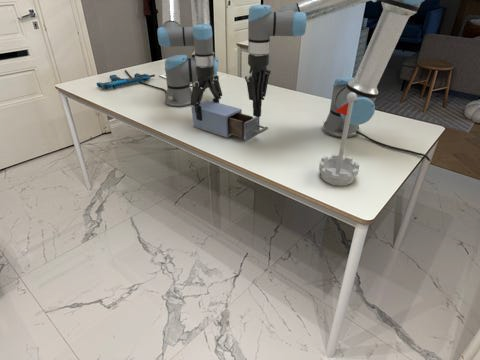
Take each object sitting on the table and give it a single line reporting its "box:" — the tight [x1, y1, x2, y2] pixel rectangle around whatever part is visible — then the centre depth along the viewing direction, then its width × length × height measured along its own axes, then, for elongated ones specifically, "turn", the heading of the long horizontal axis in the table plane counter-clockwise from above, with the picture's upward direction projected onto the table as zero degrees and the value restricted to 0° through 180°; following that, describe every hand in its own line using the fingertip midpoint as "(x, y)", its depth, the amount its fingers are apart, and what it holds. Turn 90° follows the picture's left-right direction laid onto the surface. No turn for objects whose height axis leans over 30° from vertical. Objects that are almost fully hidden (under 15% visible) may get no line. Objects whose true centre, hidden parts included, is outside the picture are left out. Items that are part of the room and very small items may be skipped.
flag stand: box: [318, 92, 360, 187], centre depth 110 cm, size 13×13×30 cm
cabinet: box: [190, 99, 243, 138], centre depth 149 cm, size 20×10×10 cm, turn 51°
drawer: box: [228, 113, 269, 141], centre depth 142 cm, size 25×9×8 cm, turn 51°
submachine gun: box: [95, 72, 156, 91], centre depth 209 cm, size 34×4×25 cm
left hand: (207, 116), depth 152 cm, fingers closed on cabinet, 10 cm apart
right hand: (256, 115), depth 134 cm, fingers closed
